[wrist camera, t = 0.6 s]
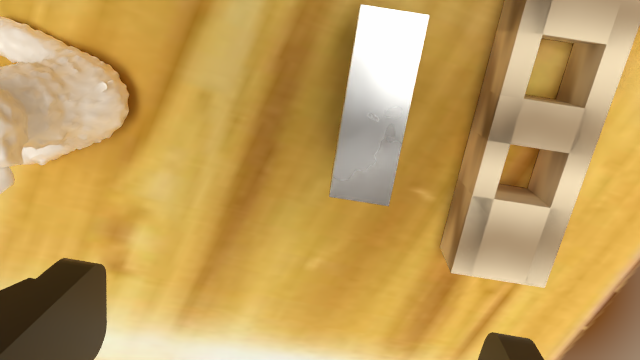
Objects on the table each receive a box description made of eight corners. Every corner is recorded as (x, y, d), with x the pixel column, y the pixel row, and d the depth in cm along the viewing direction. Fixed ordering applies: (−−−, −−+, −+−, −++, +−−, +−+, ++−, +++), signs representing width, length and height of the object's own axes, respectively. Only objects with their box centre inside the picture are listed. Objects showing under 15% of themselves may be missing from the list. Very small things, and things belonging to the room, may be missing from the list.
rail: (522, -67, 25) (549, -83, 21) (627, -51, 25) (671, -65, 21) (439, 247, 31) (450, 272, 28) (523, 260, 31) (544, 287, 28)
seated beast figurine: (-1, 16, 28) (-241, 2, 16) (131, 17, 27) (-21, 4, 16) (29, 159, 31) (-157, 232, 19) (149, 162, 30) (30, 238, 19)
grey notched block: (356, 13, 26) (360, 4, 19) (405, 20, 26) (429, 14, 19) (333, 155, 29) (329, 196, 22) (377, 161, 29) (388, 206, 22)
